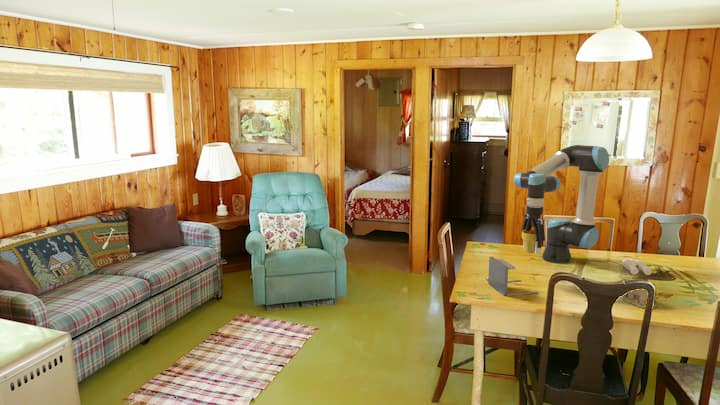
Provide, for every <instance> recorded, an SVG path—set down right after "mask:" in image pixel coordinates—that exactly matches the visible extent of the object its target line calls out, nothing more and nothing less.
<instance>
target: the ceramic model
mask: <svg viewBox="0 0 720 405" xmlns="http://www.w3.org/2000/svg"><path fill="white" fill-rule="evenodd" d="M657 295H658V293H657V291H656V290H655V296H657ZM655 296H654V297H655ZM622 300H623V301H624V302H626V303H628V304H632V305H635V306H637V307H639V308H642V309H646V308H645V305H646V301H647V291H646V290H642V289H639V290H634V291H632V292H629V293H627V294H626V295H624V296H623V295H622ZM657 305H658V301H657V300H656V299H655V298H654V306H653V309H652V310H656V309H657Z"/></svg>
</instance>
